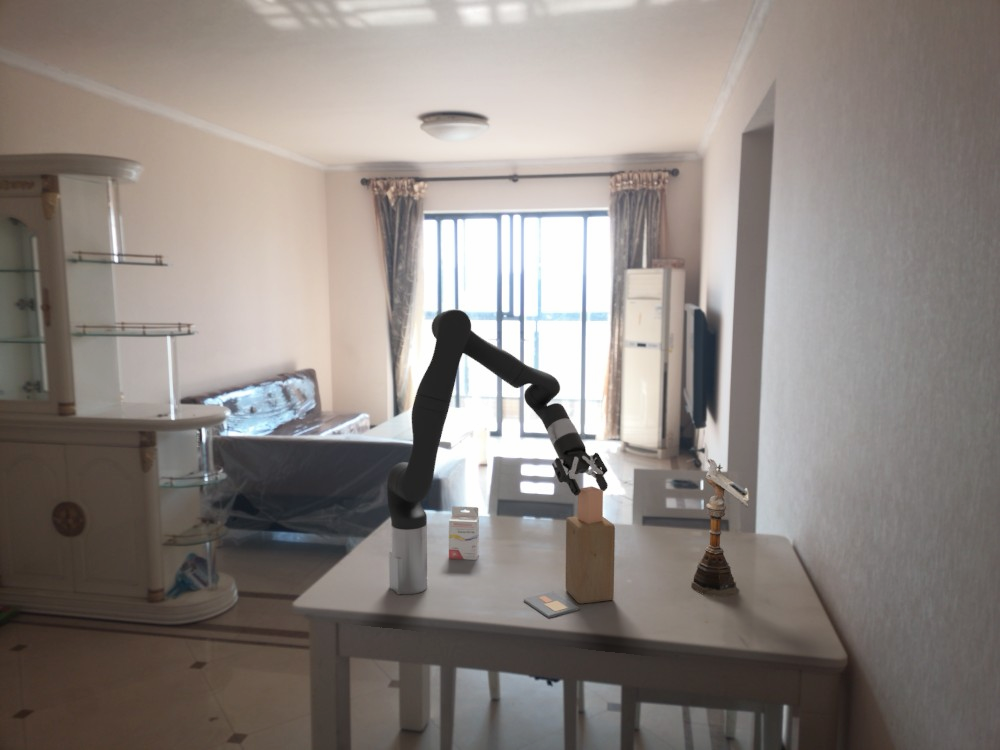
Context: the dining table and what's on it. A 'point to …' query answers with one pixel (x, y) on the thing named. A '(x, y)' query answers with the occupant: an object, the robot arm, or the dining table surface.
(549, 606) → the tile
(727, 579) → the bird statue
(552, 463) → the robot arm
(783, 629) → the dining table surface
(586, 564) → the wooden block
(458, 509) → the ink cartridge box
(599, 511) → the terracotta block
